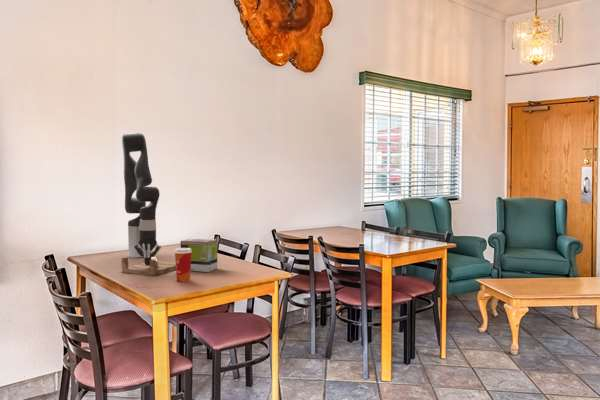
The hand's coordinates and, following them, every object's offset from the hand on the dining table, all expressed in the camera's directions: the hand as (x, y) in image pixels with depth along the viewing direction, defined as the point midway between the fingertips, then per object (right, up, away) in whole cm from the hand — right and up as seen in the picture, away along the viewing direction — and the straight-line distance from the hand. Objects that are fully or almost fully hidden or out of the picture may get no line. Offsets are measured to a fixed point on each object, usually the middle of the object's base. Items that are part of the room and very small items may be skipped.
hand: (147, 265), depth 229 cm
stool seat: (+1, -3, +4) cm, 5 cm away
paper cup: (+21, -5, -17) cm, 27 cm away
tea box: (+23, -3, +6) cm, 24 cm away
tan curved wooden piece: (+1, -1, +6) cm, 6 cm away
